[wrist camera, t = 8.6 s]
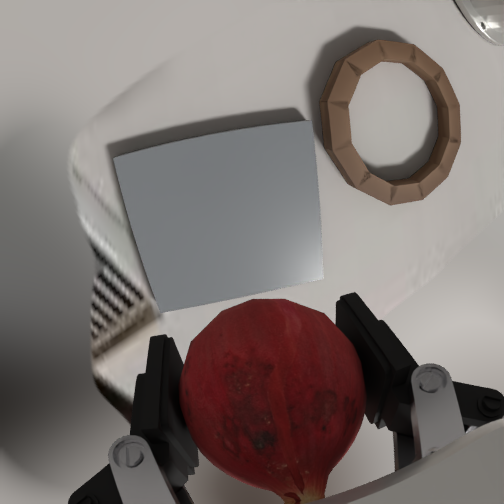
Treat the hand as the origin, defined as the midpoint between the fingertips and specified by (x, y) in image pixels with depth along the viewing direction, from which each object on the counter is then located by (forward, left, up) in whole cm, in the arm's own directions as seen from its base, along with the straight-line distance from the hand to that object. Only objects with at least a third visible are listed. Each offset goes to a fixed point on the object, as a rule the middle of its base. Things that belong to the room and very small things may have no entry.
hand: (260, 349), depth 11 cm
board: (0, 0, -14) cm, 14 cm away
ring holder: (-15, -6, -14) cm, 22 cm away
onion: (0, 0, -2) cm, 2 cm away
